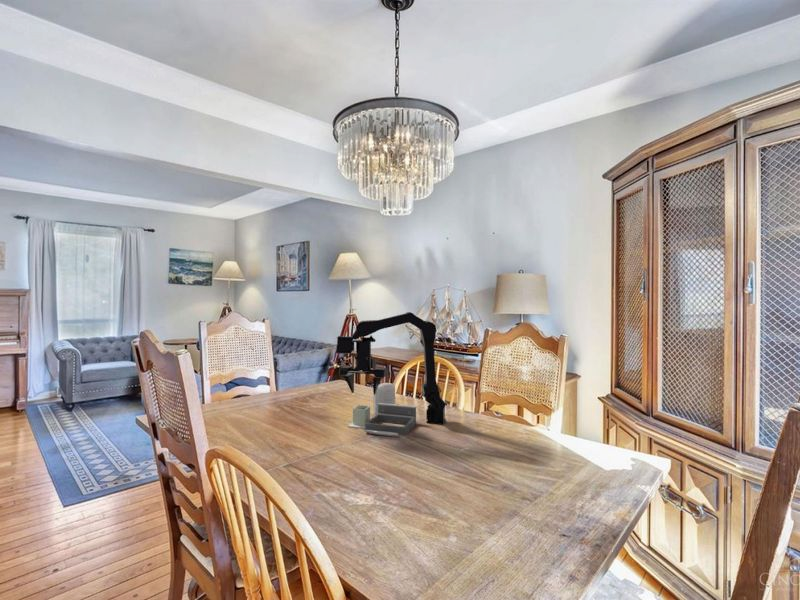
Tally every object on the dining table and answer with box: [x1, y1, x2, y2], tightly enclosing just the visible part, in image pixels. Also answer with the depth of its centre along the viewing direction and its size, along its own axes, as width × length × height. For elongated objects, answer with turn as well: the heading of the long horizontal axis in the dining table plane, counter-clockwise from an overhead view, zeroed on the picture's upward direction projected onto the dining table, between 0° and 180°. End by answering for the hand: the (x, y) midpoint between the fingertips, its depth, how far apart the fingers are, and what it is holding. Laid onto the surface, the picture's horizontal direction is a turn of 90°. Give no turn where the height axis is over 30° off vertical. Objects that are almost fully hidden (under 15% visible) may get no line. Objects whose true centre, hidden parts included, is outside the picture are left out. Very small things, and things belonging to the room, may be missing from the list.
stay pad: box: [347, 422, 365, 430], centre depth 159 cm, size 7×10×1 cm
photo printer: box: [373, 382, 396, 415], centre depth 175 cm, size 10×4×12 cm, turn 134°
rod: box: [365, 429, 400, 438], centre depth 146 cm, size 12×1×1 cm, turn 72°
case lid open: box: [378, 403, 417, 424], centre depth 162 cm, size 16×2×6 cm, turn 72°
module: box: [352, 404, 371, 426], centre depth 159 cm, size 5×5×6 cm
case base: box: [364, 413, 416, 435], centre depth 155 cm, size 16×13×3 cm
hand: (363, 393), depth 159 cm, fingers open, 9 cm apart
